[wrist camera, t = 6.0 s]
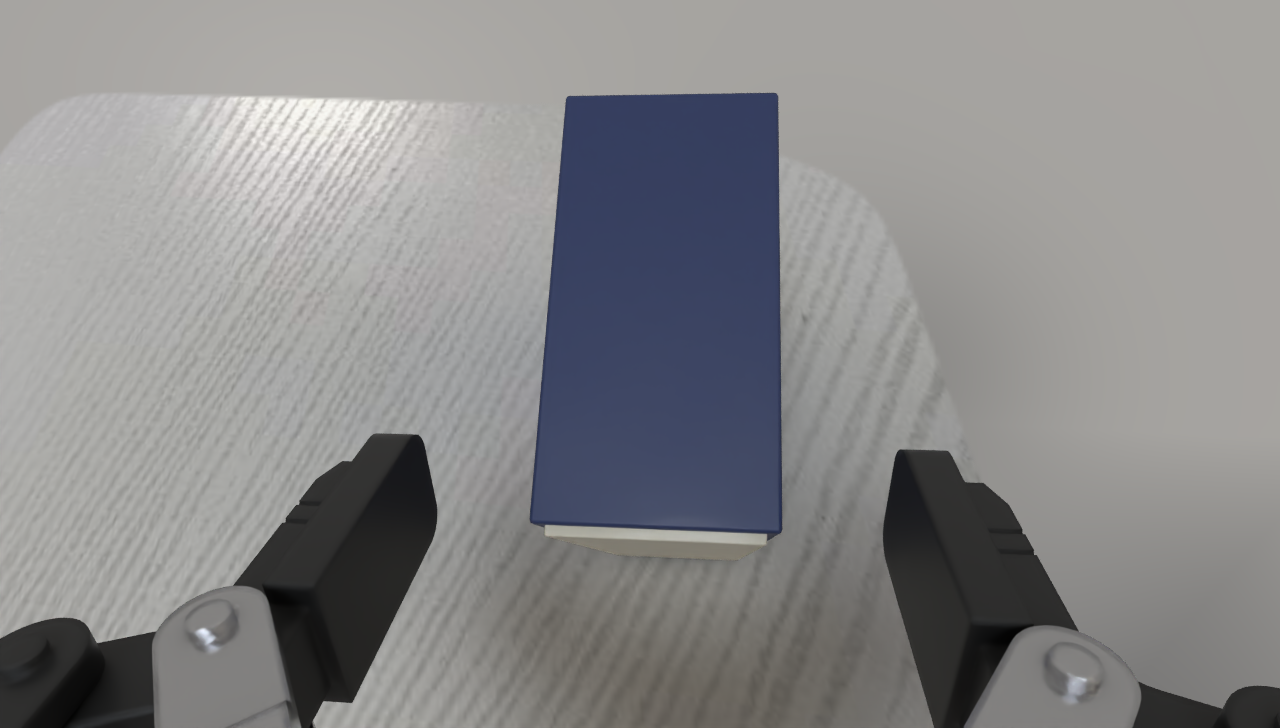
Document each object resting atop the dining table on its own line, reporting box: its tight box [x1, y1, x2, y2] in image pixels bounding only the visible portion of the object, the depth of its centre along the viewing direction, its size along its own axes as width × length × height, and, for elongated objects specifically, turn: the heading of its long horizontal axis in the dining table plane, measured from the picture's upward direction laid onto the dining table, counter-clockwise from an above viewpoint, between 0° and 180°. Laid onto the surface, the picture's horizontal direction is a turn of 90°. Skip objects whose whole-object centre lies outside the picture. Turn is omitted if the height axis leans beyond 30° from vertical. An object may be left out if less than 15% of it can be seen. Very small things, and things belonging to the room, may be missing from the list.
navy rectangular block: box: [530, 93, 782, 561], centre depth 20 cm, size 4×9×12 cm, turn 177°
